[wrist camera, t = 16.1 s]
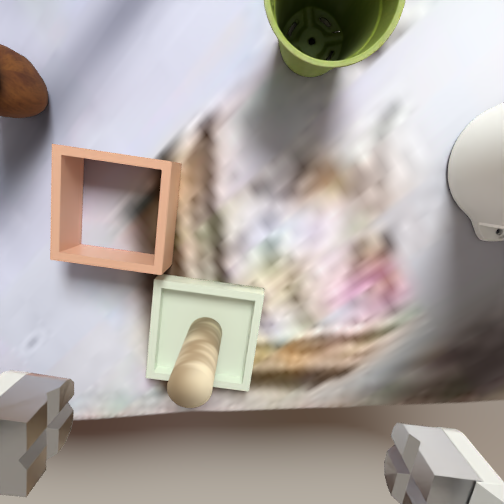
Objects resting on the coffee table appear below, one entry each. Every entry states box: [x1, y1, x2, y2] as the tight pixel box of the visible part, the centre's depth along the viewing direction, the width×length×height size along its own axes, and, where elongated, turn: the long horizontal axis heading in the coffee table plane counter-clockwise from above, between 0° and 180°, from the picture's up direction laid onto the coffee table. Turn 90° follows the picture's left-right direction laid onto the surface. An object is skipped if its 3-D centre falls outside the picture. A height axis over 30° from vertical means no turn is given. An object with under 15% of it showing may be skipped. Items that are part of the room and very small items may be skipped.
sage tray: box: [146, 274, 264, 392], centre depth 45 cm, size 14×14×2 cm
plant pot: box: [264, 0, 405, 77], centre depth 33 cm, size 12×12×11 cm
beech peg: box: [167, 317, 222, 408], centre depth 39 cm, size 4×4×12 cm
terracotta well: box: [50, 144, 182, 275], centre depth 40 cm, size 13×13×5 cm
